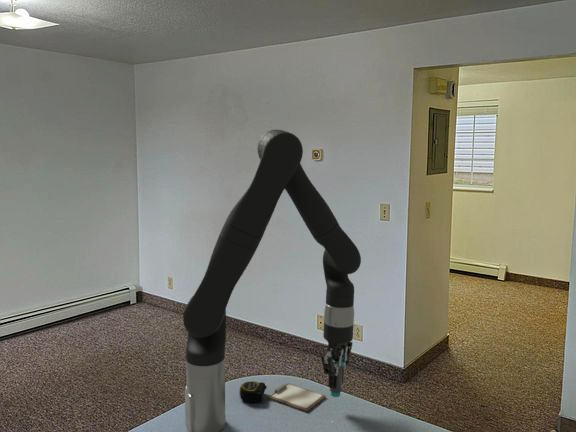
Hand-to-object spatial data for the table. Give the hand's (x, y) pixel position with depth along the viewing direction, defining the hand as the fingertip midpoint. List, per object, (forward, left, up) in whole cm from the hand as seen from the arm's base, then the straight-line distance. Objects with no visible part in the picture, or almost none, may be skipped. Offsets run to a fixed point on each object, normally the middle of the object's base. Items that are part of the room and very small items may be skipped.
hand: (335, 384), depth 128 cm
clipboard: (-7, +9, -7) cm, 14 cm away
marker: (0, 0, -3) cm, 3 cm away
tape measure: (-17, +14, -7) cm, 24 cm away
